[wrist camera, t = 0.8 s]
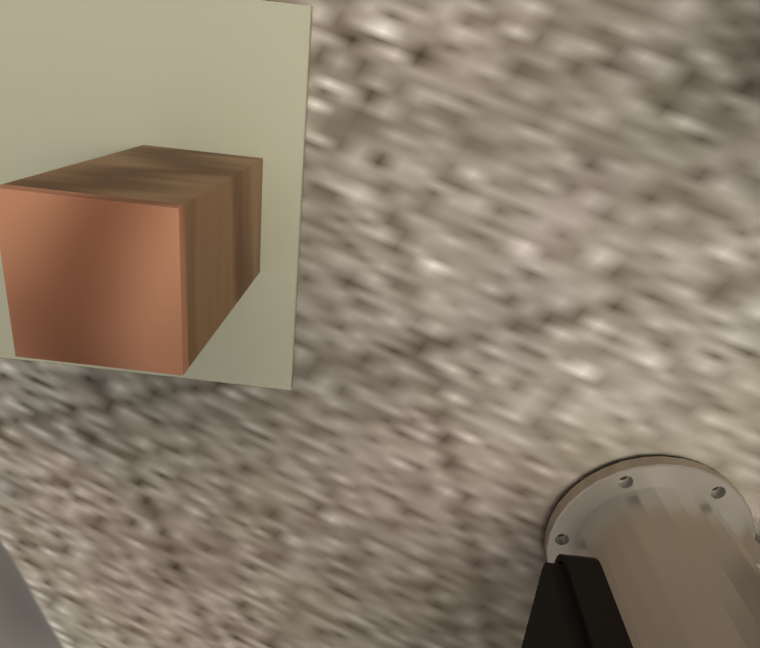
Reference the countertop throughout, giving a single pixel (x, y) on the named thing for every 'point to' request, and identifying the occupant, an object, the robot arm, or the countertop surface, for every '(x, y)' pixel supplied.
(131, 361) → the copper block
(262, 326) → the mat
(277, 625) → the countertop surface
